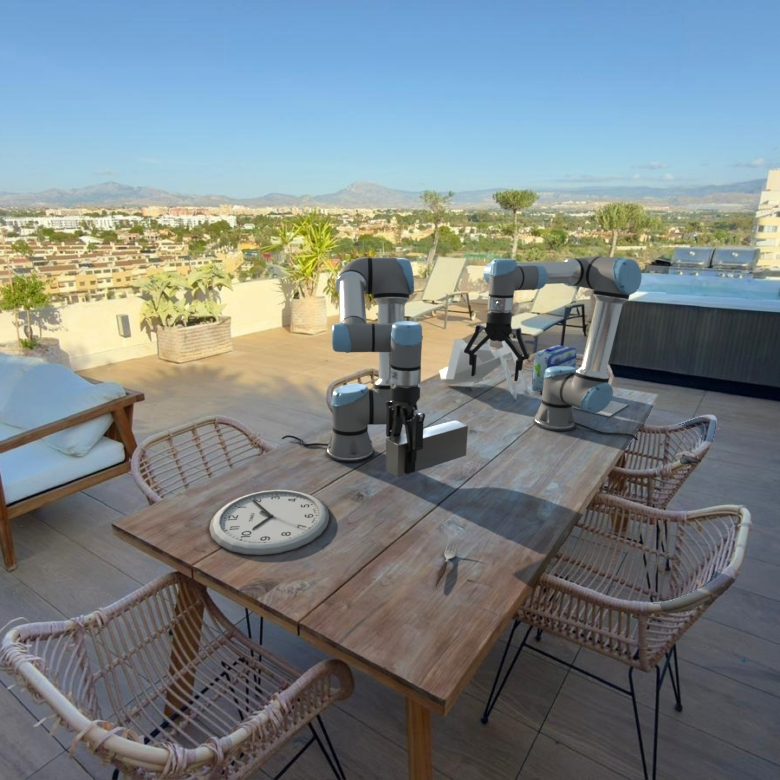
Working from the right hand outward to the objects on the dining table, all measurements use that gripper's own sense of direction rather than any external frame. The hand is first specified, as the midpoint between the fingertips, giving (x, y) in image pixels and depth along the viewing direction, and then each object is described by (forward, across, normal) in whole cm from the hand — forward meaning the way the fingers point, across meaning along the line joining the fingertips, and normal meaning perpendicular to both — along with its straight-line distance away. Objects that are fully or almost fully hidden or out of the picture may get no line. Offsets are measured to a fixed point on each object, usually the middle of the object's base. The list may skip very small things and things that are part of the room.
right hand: (494, 377), depth 166 cm
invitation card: (+28, +34, +72) cm, 84 cm away
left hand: (+16, -15, -43) cm, 48 cm away
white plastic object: (+28, -18, +70) cm, 78 cm away
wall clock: (+28, -44, -62) cm, 81 cm away
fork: (+28, +3, -63) cm, 69 cm away
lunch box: (+28, +12, +88) cm, 93 cm away
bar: (+16, -10, -36) cm, 40 cm away
